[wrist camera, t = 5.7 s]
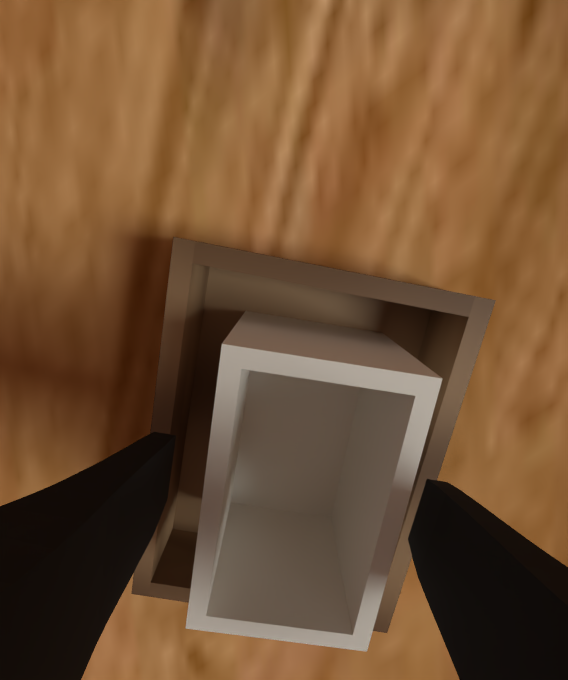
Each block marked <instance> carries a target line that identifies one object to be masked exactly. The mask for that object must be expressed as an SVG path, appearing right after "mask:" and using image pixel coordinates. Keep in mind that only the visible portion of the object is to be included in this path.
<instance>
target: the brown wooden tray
mask: <svg viewBox="0 0 568 680" xmlns="http://www.w3.org/2000/svg"><path fill="white" fill-rule="evenodd" d="M495 301H496V300H491V299H486V298H481V297H476V296H471V295H466V294H461V293H456V292H451V291H446V290H440V289H435V288H430V287H425V286H420V285H415V284H410V283H405V282H400V281H395V280H390V279H385V278H380V277H375V276H369V275H364V274H359V273H354V272H349V271H344V270H339V269H334V268H329V267H324V266H319V265H314V264H309V263H304V262H298V261H293V260H288V259H283V258H278V257H273V256H268V255H263V254H258V253H253V252H248V251H243V250H238V249H233V248H228V247H222V246H217V245H212V244H207V243H202V242H197V241H192V240H187V239H182V238H176V237H173V245H172V254H171V262H170V271H169V279H168V288H167V296H166V305H165V313H164V322H163V330H162V339H161V347H160V356H159V364H158V373H157V381H156V390H155V398H154V407H153V415H152V424H151V432H150V434H151V433H153V432H159V433H165V434H171V435H176V440H175V448H174V455H173V463H172V470H171V477H170V485H169V492H168V499H167V502H166V504H165V507H164V510H163V512H162V515H161V517H160V520H159V522H158V525H157V527H156V530H155V532H154V535H153V537H152V539H151V541H150V542H149V544H148V546H147V548H146V550H145V552H144V554H143V556H142V558H141V560H140V561H139V563H138V565H137V567H136V569H135V571H134V577H133V585H132V594H136V595H143V596H149V597H156V598H162V599H169V600H175V601H182V602H189V598H190V590H191V582H192V574H193V566H194V558H195V551H196V543H197V535H198V527H199V519H200V511H201V503H202V496H203V488H204V480H205V472H206V464H207V456H208V448H209V441H210V433H211V425H212V417H213V409H214V401H215V393H216V386H217V378H218V370H219V362H220V354H221V346H222V343H223V341H224V340H225V339H226V337H227V336H228V335H229V333H230V332H231V330H232V329H233V328H234V326H235V325H236V324H237V322H238V321H239V319H240V318H241V317H242V315H243V314H244V313H245V311H249V312H255V313H262V314H268V315H274V316H280V317H286V318H293V319H299V320H305V321H311V322H317V323H324V324H330V325H336V326H342V327H348V328H355V329H361V330H367V331H373V332H379V333H383V334H384V335H386V336H387V337H388V338H390V339H391V340H392V341H394V342H395V343H396V344H398V345H399V346H400V347H402V348H403V349H404V350H406V351H407V352H408V353H410V354H411V355H412V356H413V357H415V358H416V359H417V360H419V361H420V362H421V363H423V364H424V365H425V366H427V367H428V368H429V369H431V370H432V371H433V372H435V373H436V374H437V375H439V376H440V377H441V378H443V379H442V383H441V386H440V390H439V394H438V397H437V401H436V404H435V408H434V412H433V415H432V419H431V422H430V426H429V430H428V433H427V437H426V440H425V444H424V448H423V451H422V455H421V458H420V462H419V466H418V469H417V473H416V476H415V480H414V484H413V487H412V491H411V495H410V498H409V502H408V505H407V509H406V513H405V516H404V520H403V523H402V527H401V531H400V534H399V538H398V541H397V545H396V549H395V552H394V556H393V559H392V563H391V567H390V570H389V574H388V577H387V581H386V585H385V588H384V592H383V595H382V599H381V603H380V606H379V610H378V614H377V617H376V621H375V624H374V628H373V631H378V632H384V633H387V632H388V628H389V625H390V622H391V619H392V616H393V613H394V610H395V607H396V604H397V601H398V598H399V595H400V592H401V589H402V586H403V582H404V579H405V576H406V573H407V570H408V567H409V564H410V561H411V558H412V554H411V550H410V546H409V542H408V537H409V533H410V530H411V527H412V524H413V521H414V518H415V515H416V511H417V508H418V505H419V502H420V499H421V496H422V493H423V490H424V486H425V483H426V480H427V479H431V480H436V481H437V478H438V475H439V472H440V469H441V466H442V463H443V460H444V457H445V454H446V451H447V448H448V445H449V441H450V438H451V435H452V432H453V429H454V426H455V423H456V420H457V417H458V414H459V411H460V408H461V405H462V402H463V399H464V396H465V392H466V389H467V386H468V383H469V380H470V377H471V374H472V371H473V368H474V365H475V362H476V359H477V356H478V353H479V350H480V346H481V343H482V340H483V337H484V334H485V331H486V328H487V325H488V322H489V319H490V316H491V313H492V310H493V307H494V304H495Z"/></svg>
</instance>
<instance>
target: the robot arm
mask: <svg viewBox="0 0 568 680" xmlns="http://www.w3.org/2000/svg"><path fill="white" fill-rule="evenodd" d="M175 440H176V435H171V434H165V433H159V432H153V433H151V434H149V435H147V436H145V437H143V438H142V439H140V440H138V441H136V442H135V443H133V444H131V445H129V446H128V447H126V448H124V449H122V450H121V451H119V452H117V453H115V454H113V455H112V456H110V457H108V458H106V459H104V460H103V461H101V462H99V463H97V464H95V465H93V466H91V467H89V468H87V469H85V470H83V471H81V472H79V473H77V474H75V475H73V476H71V477H69V478H67V479H65V480H63V481H61V482H58V483H56V484H54V485H52V486H50V487H47V488H45V489H43V490H40V491H38V492H36V493H33V494H31V495H28V496H26V497H23V498H21V499H18V500H16V501H13V502H10V503H8V504H5V505H2V506H0V680H81V678H82V676H83V674H84V671H85V669H86V667H87V664H88V662H89V660H90V657H91V655H92V653H93V651H94V648H95V646H96V644H97V642H98V640H99V638H100V636H101V634H102V632H103V630H104V627H105V625H106V623H107V621H108V620H109V618H110V616H111V614H112V612H113V610H114V608H115V606H116V605H117V603H118V601H119V599H120V597H121V595H122V593H123V591H124V590H125V588H126V586H127V584H128V582H129V580H130V578H131V576H132V575H133V573H134V571H135V569H136V567H137V565H138V563H139V561H140V560H141V558H142V556H143V554H144V552H145V550H146V548H147V546H148V544H149V542H150V541H151V539H152V537H153V535H154V532H155V530H156V527H157V525H158V522H159V520H160V517H161V515H162V512H163V510H164V507H165V504H166V502H167V499H168V492H169V485H170V477H171V470H172V463H173V455H174V448H175ZM408 542H409V546H410V550H411V554H412V558H413V561H414V565H415V568H416V572H417V575H418V578H419V581H420V583H421V586H422V588H423V591H424V593H425V596H426V598H427V601H428V603H429V606H430V608H431V611H432V613H433V615H434V618H435V620H436V623H437V625H438V628H439V630H440V632H441V635H442V637H443V640H444V642H445V645H446V647H447V649H448V652H449V654H450V657H451V659H452V661H453V664H454V666H455V669H456V671H457V674H458V676H459V679H460V680H568V567H566V566H565V565H564V564H562V563H561V562H559V561H558V560H556V559H555V558H553V557H552V556H550V555H549V554H548V553H546V552H545V551H543V550H542V549H540V548H539V547H538V546H536V545H535V544H533V543H532V542H531V541H529V540H528V539H526V538H525V537H524V536H522V535H521V534H519V533H518V532H517V531H515V530H514V529H513V528H511V527H510V526H509V525H507V524H506V523H505V522H503V521H502V520H500V519H499V518H498V517H496V516H495V515H494V514H492V513H491V512H490V511H488V510H487V509H486V508H484V507H483V506H482V505H480V504H479V503H478V502H476V501H475V500H473V499H472V498H471V497H469V496H468V495H466V494H465V493H464V492H462V491H461V490H459V489H458V488H456V487H454V486H453V485H451V484H449V483H448V482H442V481H436V480H431V479H427V480H426V483H425V486H424V490H423V493H422V496H421V499H420V502H419V505H418V508H417V511H416V515H415V518H414V521H413V524H412V527H411V530H410V533H409V537H408Z"/></svg>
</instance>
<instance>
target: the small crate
mask: <svg viewBox="0 0 568 680" xmlns="http://www.w3.org/2000/svg"><path fill="white" fill-rule="evenodd" d="M442 379H443V378H441V377H440V376H439V375H437V374H436V373H435V372H433V371H432V370H431V369H429V368H428V367H427V366H425V365H424V364H423V363H421V362H420V361H419V360H417V359H416V358H415V357H413V356H412V355H411V354H410V353H408V352H407V351H406V350H404V349H403V348H402V347H400V346H399V345H398V344H396V343H395V342H394V341H392V340H391V339H390V338H388V337H387V336H386V335H384V334H383V333H379V332H373V331H367V330H361V329H355V328H348V327H342V326H336V325H330V324H324V323H317V322H311V321H305V320H299V319H293V318H286V317H280V316H274V315H268V314H262V313H255V312H249V311H245V313H244V314H243V315H242V317H241V318H240V319H239V321H238V322H237V324H236V325H235V326H234V328H233V329H232V330H231V332H230V333H229V335H228V336H227V337H226V339H225V340H224V341H223V343H222V346H221V354H220V362H219V370H218V378H217V386H216V393H215V401H214V409H213V417H212V425H211V433H210V441H209V448H208V456H207V464H206V472H205V480H204V488H203V496H202V503H201V511H200V519H199V527H198V535H197V543H196V551H195V558H194V566H193V574H192V582H191V590H190V598H189V606H188V613H187V621H186V628H187V629H194V630H202V631H210V632H218V633H226V634H234V635H242V636H249V637H257V638H265V639H273V640H281V641H289V642H297V643H304V644H312V645H320V646H328V647H336V648H344V649H351V650H359V651H367V650H368V646H369V642H370V639H371V635H372V632H373V628H374V624H375V621H376V617H377V614H378V610H379V606H380V603H381V599H382V595H383V592H384V588H385V585H386V581H387V577H388V574H389V570H390V567H391V563H392V559H393V556H394V552H395V549H396V545H397V541H398V538H399V534H400V531H401V527H402V523H403V520H404V516H405V513H406V509H407V505H408V502H409V498H410V495H411V491H412V487H413V484H414V480H415V476H416V473H417V469H418V466H419V462H420V458H421V455H422V451H423V448H424V444H425V440H426V437H427V433H428V430H429V426H430V422H431V419H432V415H433V412H434V408H435V404H436V401H437V397H438V394H439V390H440V386H441V383H442Z"/></svg>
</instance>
